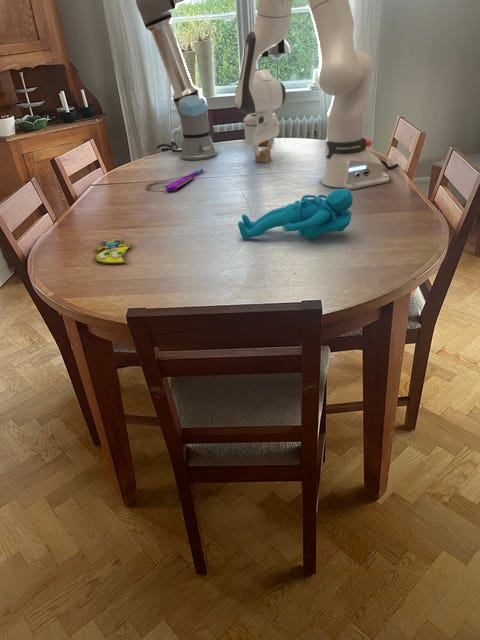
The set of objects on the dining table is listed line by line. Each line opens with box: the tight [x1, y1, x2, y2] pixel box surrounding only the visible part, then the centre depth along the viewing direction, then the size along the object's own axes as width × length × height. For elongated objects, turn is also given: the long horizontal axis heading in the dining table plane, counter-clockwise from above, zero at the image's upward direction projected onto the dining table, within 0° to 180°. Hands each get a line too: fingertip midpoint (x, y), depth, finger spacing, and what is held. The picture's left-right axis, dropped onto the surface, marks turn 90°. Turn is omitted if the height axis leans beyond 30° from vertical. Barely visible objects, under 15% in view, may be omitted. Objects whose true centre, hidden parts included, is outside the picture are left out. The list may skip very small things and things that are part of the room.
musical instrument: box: [145, 168, 205, 192], centre depth 179 cm, size 24×2×20 cm
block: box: [254, 147, 272, 164], centre depth 194 cm, size 4×5×4 cm
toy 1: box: [95, 238, 133, 265], centre depth 129 cm, size 10×1×15 cm
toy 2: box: [237, 188, 354, 240], centre depth 126 cm, size 17×11×30 cm
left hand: (273, 55), depth 206 cm, fingers open, 13 cm apart
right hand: (264, 152), depth 193 cm, fingers open, 8 cm apart
